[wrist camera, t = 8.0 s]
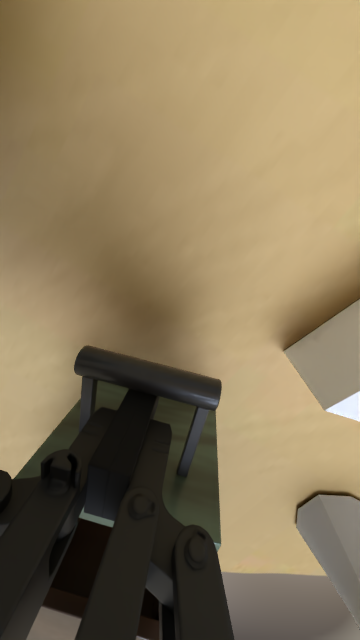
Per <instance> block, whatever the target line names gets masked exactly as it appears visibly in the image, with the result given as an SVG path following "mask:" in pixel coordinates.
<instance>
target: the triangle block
mask: <svg viewBox="0 0 360 640" xmlns="http://www.w3.org/2000/svg"><path fill="white" fill-rule="evenodd" d="M283 352H284V353H285V355H286V356H287V358H288V359H289V360H290V362H291V363H292V365H293V366H294V368H295V369H296V370H297V372H298V373H299V375H300V376H301V378H302V379H303V380H304V382H305V383H306V385H307V386H308V388H309V389H310V390H311V392H312V393H313V395H314V396H315V398H316V399H317V400H318V402H319V403H320V405H321V406H322V408H323V409H324V410H325V411H328V412H331V413H334V414H338V415H341V416H344V417H348V418H351V419H354V420H357V421H360V299H359V300H357V301H356V302H354V303H353V304H352V305H350V306H349V307H347V308H346V309H344V310H343V311H341V312H340V313H338V314H337V315H336V316H334V317H333V318H331V319H330V320H328V321H327V322H325V323H324V324H322V325H321V326H320V327H318V328H317V329H315V330H314V331H312V332H311V333H309V334H308V335H306V336H305V337H304V338H302V339H301V340H299V341H298V342H296V343H295V344H293V345H292V346H290V347H289V348H288V349H286V350H285V351H283Z"/></svg>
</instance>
